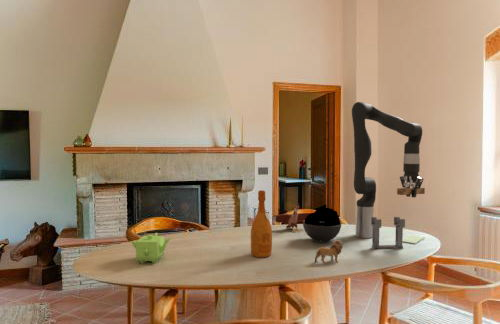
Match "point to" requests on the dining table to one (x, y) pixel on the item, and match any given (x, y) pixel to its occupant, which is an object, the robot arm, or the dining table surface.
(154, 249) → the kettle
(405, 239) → the sage mat
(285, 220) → the decorative bird
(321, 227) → the bowl of black rocks
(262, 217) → the wine bottle
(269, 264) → the dining table surface
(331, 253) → the lion figurine
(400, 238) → the cradle stand
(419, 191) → the walnut rail
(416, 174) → the robot arm
